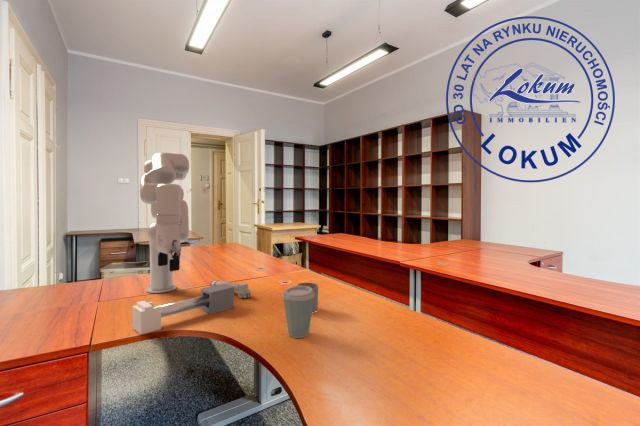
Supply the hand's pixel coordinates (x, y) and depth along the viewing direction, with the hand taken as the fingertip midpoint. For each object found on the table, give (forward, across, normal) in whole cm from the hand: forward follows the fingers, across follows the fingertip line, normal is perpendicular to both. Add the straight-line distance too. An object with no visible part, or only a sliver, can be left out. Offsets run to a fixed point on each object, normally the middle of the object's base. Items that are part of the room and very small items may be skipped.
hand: (168, 267), depth 111 cm
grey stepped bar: (+20, -13, +33) cm, 41 cm away
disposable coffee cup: (+19, +41, +25) cm, 51 cm away
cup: (+19, +27, +42) cm, 54 cm away
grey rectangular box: (+19, +2, +18) cm, 26 cm away
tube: (+16, +2, +3) cm, 17 cm away
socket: (+19, +2, -7) cm, 20 cm away
